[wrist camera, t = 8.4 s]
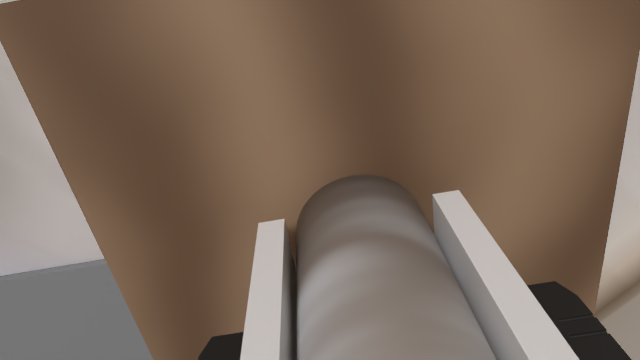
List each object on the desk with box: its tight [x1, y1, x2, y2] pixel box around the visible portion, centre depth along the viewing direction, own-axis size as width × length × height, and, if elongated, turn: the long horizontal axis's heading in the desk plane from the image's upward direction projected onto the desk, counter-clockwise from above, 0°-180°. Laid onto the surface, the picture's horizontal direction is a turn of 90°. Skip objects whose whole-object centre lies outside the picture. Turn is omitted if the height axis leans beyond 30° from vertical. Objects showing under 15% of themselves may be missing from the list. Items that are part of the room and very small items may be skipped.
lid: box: [0, 0, 640, 360], centre depth 11 cm, size 16×16×8 cm
